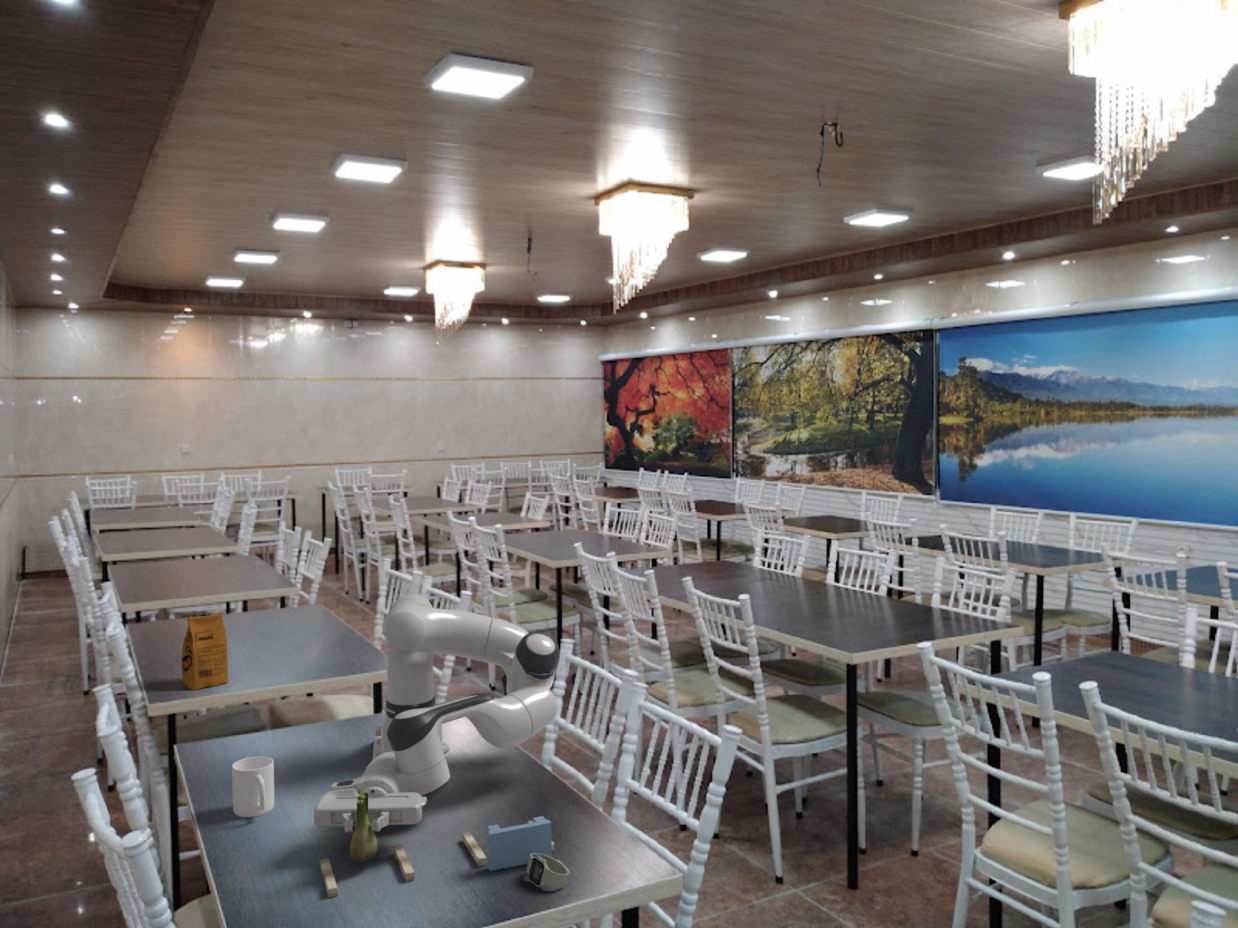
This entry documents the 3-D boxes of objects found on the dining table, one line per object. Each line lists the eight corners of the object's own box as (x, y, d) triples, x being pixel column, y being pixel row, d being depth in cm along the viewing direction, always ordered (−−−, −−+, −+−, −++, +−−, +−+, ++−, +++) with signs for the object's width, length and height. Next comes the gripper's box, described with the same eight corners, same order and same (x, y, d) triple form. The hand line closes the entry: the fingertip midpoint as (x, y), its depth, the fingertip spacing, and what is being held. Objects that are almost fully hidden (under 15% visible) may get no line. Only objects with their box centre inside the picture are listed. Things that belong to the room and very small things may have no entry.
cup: (268, 798, 209) (267, 753, 209) (284, 817, 199) (283, 770, 199) (228, 807, 204) (227, 761, 204) (243, 827, 195) (241, 779, 194)
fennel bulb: (363, 848, 181) (362, 787, 180) (384, 853, 179) (383, 791, 178) (343, 862, 176) (342, 799, 175) (365, 867, 174) (364, 803, 173)
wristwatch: (519, 876, 174) (519, 850, 174) (546, 865, 178) (546, 839, 178) (549, 895, 167) (549, 868, 167) (577, 883, 171) (577, 856, 171)
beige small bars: (320, 867, 177) (320, 859, 177) (534, 826, 194) (534, 819, 194) (328, 897, 166) (328, 889, 166) (554, 851, 184) (554, 843, 183)
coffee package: (178, 685, 296) (176, 615, 295) (219, 677, 305) (217, 609, 303) (190, 692, 289) (188, 620, 288) (231, 683, 298) (229, 614, 296)
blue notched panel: (485, 862, 179) (484, 826, 179) (545, 850, 184) (545, 815, 183) (490, 871, 176) (490, 834, 175) (551, 858, 181) (551, 822, 180)
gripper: (428, 811, 191) (418, 842, 177) (324, 814, 189) (306, 846, 176) (428, 780, 190) (418, 809, 177) (324, 783, 189) (306, 813, 175)
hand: (361, 827), depth 176 cm, fingers closed on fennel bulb, 3 cm apart
